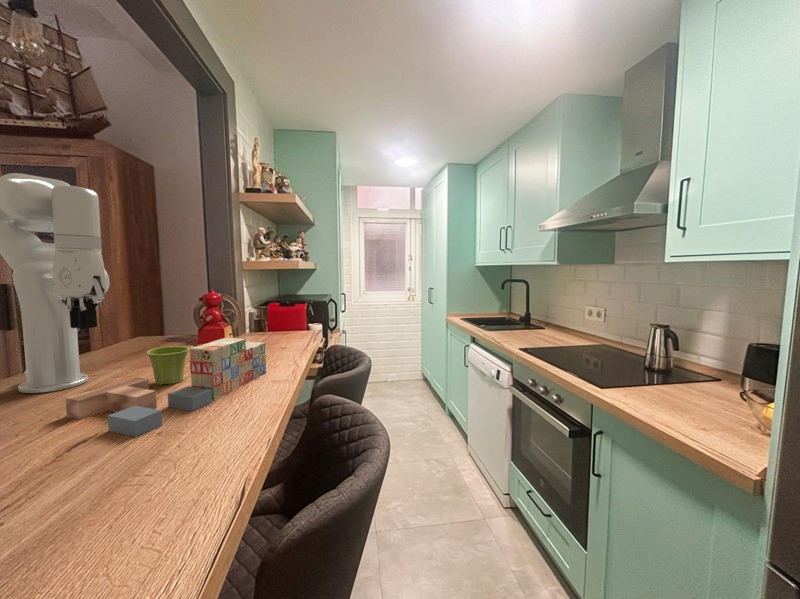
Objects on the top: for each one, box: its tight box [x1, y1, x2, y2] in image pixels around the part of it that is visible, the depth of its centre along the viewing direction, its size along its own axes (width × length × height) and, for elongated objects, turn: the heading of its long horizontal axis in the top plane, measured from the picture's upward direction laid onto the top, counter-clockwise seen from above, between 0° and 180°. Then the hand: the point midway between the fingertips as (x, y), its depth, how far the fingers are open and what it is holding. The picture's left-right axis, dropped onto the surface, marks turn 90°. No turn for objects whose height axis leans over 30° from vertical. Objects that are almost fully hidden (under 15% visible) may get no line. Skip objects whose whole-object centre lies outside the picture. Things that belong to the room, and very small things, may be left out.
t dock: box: [107, 385, 213, 438], centre depth 71 cm, size 7×17×3 cm, turn 163°
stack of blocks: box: [189, 337, 267, 401], centre depth 90 cm, size 21×6×12 cm, turn 169°
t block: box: [65, 377, 158, 420], centre depth 74 cm, size 13×14×4 cm
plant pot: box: [146, 345, 190, 385], centre depth 91 cm, size 9×9×9 cm
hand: (84, 326), depth 76 cm, fingers closed
